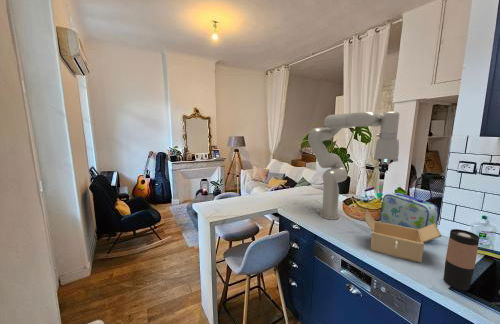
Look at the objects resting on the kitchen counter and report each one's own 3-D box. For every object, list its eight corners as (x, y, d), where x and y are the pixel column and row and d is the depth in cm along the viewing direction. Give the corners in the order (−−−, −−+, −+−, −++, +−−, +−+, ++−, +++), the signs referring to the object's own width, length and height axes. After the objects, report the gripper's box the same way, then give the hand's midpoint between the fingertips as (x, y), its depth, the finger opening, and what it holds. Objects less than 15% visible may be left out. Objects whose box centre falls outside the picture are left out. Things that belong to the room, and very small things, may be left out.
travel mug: (438, 274, 85) (445, 227, 82) (462, 278, 83) (470, 230, 80) (449, 288, 78) (458, 237, 75) (476, 293, 76) (486, 240, 73)
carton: (370, 252, 100) (371, 234, 99) (372, 236, 116) (373, 220, 114) (422, 266, 90) (425, 247, 89) (416, 246, 106) (419, 229, 104)
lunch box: (438, 241, 111) (444, 202, 107) (424, 245, 107) (430, 205, 104) (390, 221, 135) (393, 188, 131) (377, 223, 131) (381, 190, 128)
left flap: (373, 230, 102) (372, 230, 102) (374, 220, 113) (373, 220, 113) (364, 217, 103) (363, 217, 103) (366, 208, 114) (365, 209, 114)
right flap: (440, 235, 88) (441, 236, 88) (434, 223, 99) (435, 224, 99) (422, 241, 92) (423, 242, 92) (418, 229, 103) (419, 230, 103)
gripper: (370, 136, 110) (367, 171, 113) (406, 137, 102) (402, 174, 105) (371, 135, 116) (368, 169, 119) (405, 136, 108) (401, 172, 111)
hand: (384, 171), depth 112 cm, fingers closed
